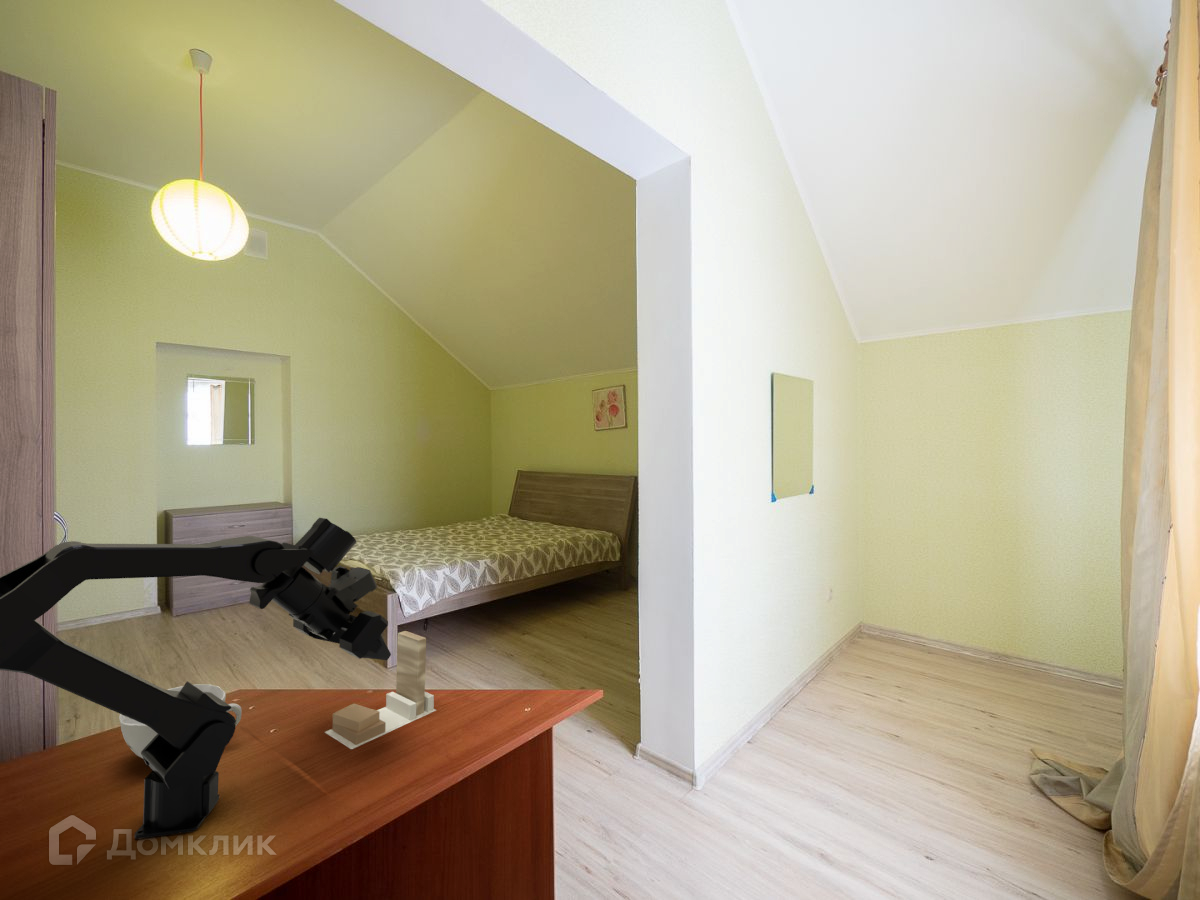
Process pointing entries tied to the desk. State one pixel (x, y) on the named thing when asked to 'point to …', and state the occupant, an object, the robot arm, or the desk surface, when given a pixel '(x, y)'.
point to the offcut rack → (375, 719)
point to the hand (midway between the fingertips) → (372, 650)
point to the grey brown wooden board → (411, 668)
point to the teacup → (142, 734)
